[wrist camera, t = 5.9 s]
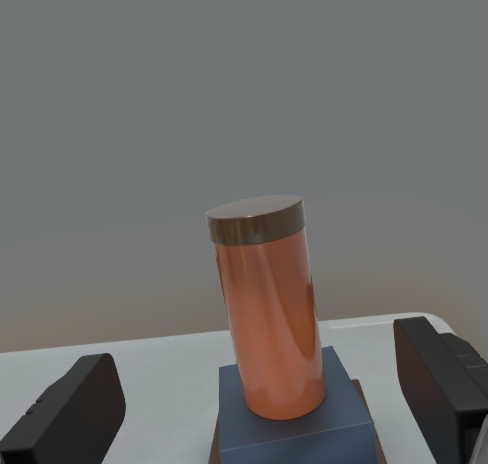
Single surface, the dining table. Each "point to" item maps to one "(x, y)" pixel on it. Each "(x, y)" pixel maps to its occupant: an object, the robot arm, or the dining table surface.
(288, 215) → the terracotta canister
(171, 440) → the dining table surface
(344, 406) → the block stack
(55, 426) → the robot arm
